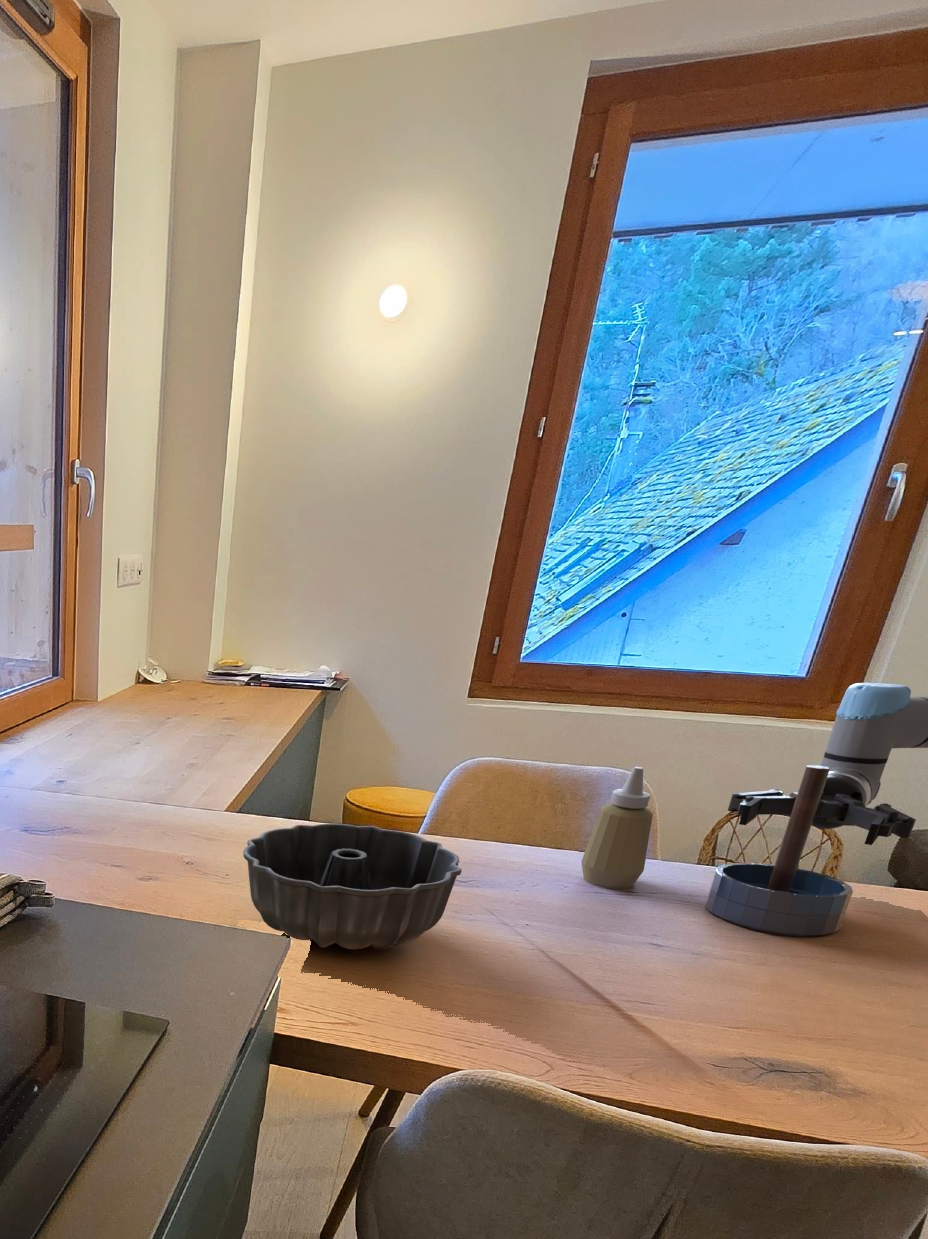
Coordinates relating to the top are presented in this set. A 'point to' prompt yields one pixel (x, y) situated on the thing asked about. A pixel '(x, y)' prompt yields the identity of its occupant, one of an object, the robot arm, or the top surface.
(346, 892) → the bundt pan
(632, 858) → the squeeze bottle
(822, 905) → the bowl
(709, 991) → the top surface
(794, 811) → the stirring stick
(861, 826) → the robot arm
